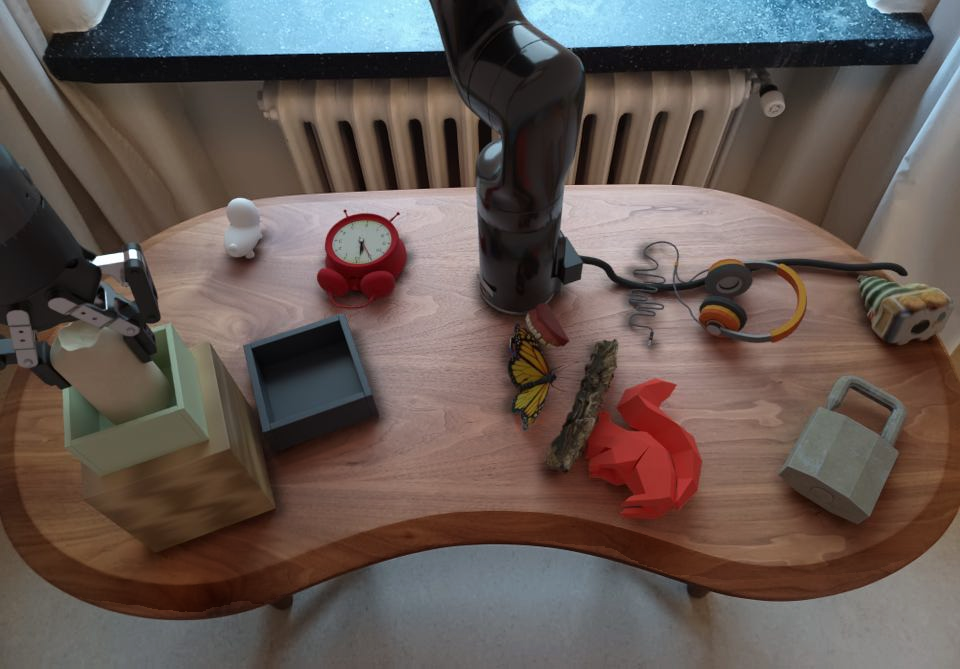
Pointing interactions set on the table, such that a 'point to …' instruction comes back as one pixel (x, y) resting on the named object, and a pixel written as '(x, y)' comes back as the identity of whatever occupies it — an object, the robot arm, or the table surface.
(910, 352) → the table surface
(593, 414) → the bark log
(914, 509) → the table surface
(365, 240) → the alarm clock
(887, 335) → the ornament
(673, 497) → the animal figurine
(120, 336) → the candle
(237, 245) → the toy creature
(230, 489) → the stand
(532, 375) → the butterfly
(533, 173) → the robot arm
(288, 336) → the dark bin
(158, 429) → the pale bin
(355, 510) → the table surface
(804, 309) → the headphones
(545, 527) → the table surface
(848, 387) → the padlock
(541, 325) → the dentures model
